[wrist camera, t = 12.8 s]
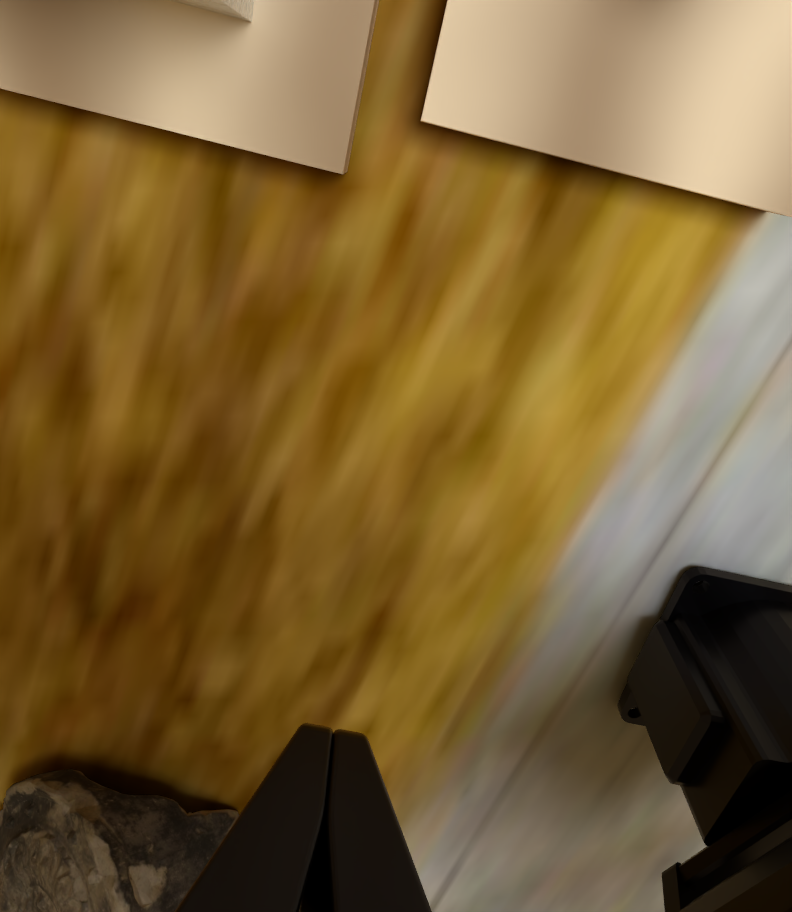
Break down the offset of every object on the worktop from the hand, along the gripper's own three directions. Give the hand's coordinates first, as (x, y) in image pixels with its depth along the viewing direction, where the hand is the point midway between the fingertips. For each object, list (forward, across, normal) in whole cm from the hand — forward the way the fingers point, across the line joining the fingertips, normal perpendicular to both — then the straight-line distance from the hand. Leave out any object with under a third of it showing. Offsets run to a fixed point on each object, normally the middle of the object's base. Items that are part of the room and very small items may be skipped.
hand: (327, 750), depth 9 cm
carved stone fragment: (+12, +6, +21) cm, 25 cm away
